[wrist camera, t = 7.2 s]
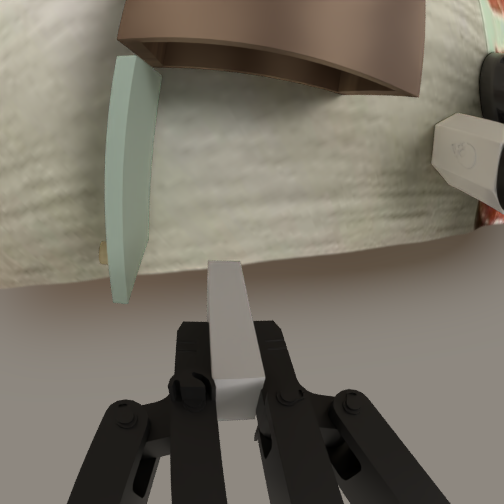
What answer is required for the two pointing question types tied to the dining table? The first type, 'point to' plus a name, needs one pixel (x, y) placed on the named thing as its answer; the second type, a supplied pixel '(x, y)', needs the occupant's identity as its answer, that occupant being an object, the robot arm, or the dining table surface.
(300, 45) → the case
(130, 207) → the door
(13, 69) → the dining table surface
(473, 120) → the jar
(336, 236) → the dining table surface
